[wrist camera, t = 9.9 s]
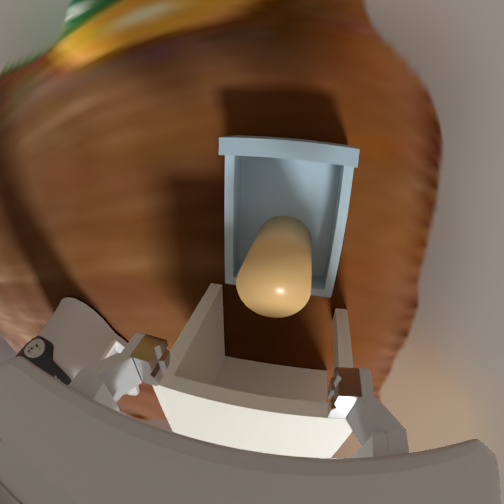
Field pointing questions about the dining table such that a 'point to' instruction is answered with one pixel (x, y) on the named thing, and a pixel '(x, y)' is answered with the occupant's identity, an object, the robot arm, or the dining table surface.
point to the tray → (287, 197)
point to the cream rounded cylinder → (277, 269)
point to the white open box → (249, 391)
